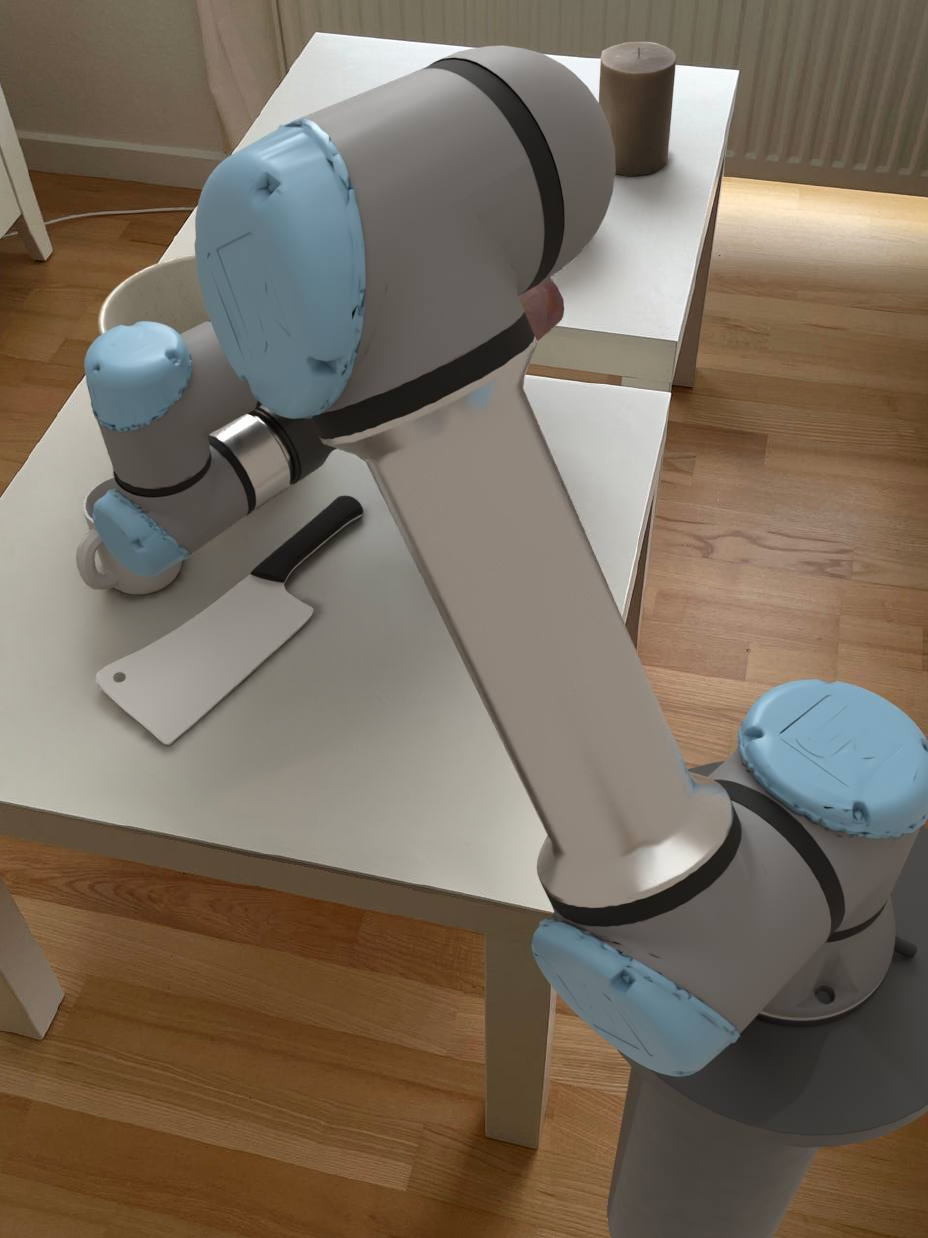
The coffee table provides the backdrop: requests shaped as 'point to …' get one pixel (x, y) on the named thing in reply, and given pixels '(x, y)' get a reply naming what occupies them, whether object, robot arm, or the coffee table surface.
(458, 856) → the coffee table surface
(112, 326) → the planter
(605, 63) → the pillar candle
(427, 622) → the coffee table surface
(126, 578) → the cup
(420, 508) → the robot arm
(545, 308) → the food
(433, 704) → the coffee table surface
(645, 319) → the coffee table surface
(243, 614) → the kitchen cleaver
